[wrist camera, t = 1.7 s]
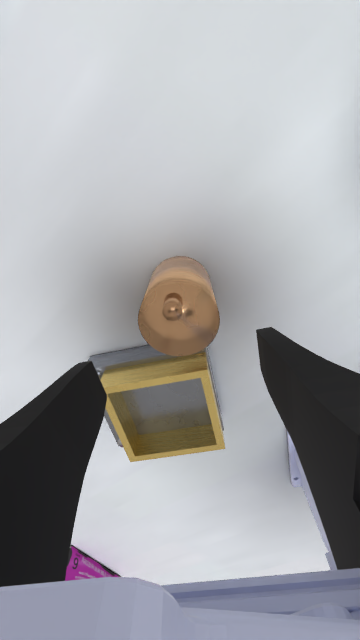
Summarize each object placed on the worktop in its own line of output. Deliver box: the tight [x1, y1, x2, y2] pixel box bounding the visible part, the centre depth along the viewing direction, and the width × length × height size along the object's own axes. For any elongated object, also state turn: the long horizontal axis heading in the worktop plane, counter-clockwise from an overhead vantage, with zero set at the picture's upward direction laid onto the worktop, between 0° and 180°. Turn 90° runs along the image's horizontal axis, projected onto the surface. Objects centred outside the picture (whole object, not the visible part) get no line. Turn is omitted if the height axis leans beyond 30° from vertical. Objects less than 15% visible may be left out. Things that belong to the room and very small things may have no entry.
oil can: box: [138, 256, 220, 356], centre depth 17 cm, size 5×5×7 cm
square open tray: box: [88, 345, 225, 462], centre depth 23 cm, size 9×10×4 cm
